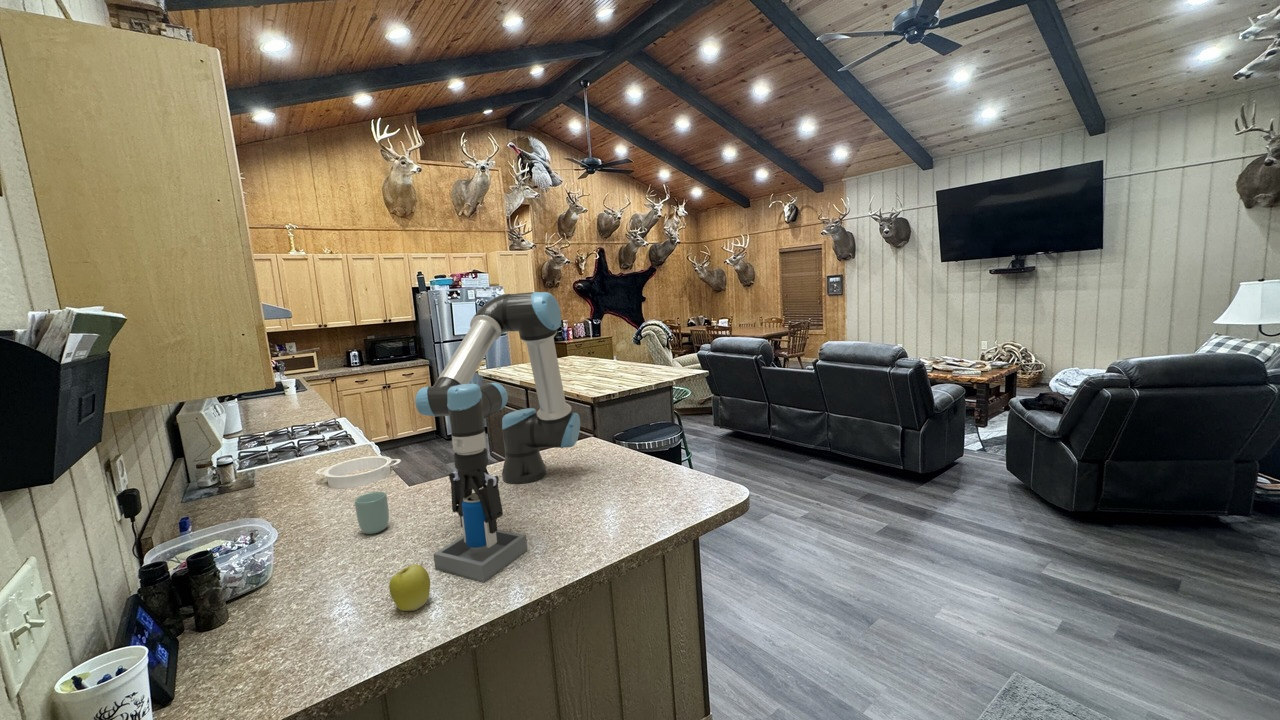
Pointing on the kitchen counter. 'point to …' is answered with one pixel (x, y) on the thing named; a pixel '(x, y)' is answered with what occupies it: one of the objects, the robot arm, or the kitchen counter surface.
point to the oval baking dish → (357, 464)
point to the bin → (480, 556)
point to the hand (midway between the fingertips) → (480, 542)
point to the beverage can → (474, 522)
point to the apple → (410, 588)
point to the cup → (372, 512)
